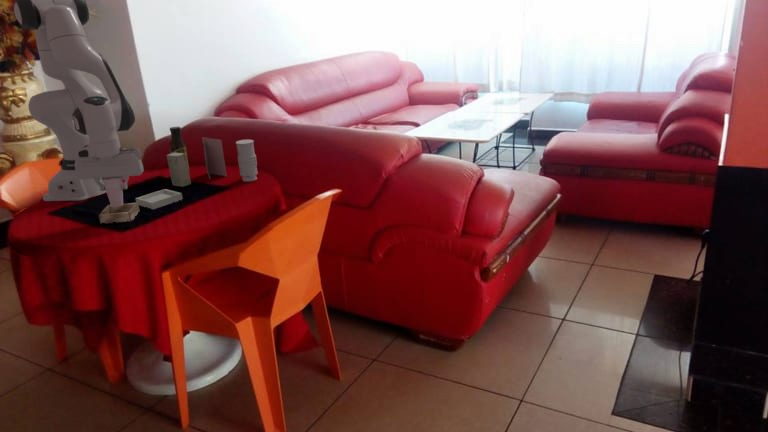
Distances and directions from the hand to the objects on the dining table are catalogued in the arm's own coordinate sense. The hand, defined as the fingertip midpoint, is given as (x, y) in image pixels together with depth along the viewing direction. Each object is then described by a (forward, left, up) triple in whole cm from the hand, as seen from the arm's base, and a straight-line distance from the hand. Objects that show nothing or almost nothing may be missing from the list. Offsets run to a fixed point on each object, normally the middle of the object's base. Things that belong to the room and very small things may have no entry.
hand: (114, 189), depth 196 cm
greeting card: (+26, +42, -10) cm, 50 cm away
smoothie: (0, 0, -6) cm, 6 cm away
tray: (+10, +13, -10) cm, 19 cm away
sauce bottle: (+12, +46, -10) cm, 48 cm away
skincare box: (+14, +33, -10) cm, 37 cm away
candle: (+40, +33, -10) cm, 53 cm away
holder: (0, 0, -10) cm, 10 cm away
